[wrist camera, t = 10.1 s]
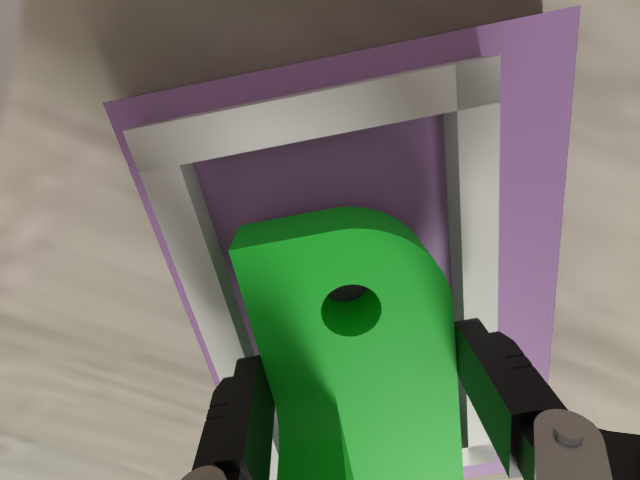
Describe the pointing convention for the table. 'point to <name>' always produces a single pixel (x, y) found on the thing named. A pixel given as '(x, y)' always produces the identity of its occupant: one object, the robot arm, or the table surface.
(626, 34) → the table surface
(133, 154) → the door panel
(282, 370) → the mechanical part
